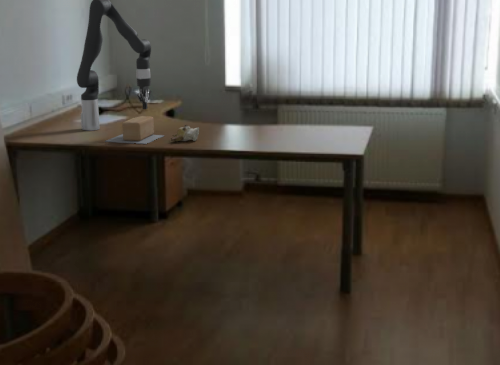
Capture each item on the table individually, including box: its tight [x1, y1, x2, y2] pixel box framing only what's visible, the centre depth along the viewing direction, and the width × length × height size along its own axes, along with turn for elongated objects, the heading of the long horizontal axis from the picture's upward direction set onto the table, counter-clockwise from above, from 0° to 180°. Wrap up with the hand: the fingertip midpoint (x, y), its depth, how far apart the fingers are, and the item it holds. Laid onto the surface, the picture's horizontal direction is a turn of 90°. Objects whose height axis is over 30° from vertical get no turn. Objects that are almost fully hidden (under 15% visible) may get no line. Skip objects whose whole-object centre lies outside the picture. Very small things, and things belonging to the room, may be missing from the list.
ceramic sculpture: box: [170, 124, 200, 142], centre depth 411 cm, size 11×9×15 cm
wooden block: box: [121, 115, 155, 141], centre depth 419 cm, size 10×10×20 cm
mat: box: [104, 133, 165, 145], centre depth 418 cm, size 24×22×1 cm
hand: (145, 108), depth 427 cm, fingers closed
